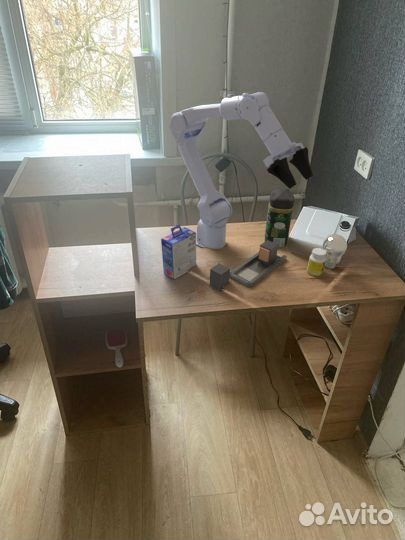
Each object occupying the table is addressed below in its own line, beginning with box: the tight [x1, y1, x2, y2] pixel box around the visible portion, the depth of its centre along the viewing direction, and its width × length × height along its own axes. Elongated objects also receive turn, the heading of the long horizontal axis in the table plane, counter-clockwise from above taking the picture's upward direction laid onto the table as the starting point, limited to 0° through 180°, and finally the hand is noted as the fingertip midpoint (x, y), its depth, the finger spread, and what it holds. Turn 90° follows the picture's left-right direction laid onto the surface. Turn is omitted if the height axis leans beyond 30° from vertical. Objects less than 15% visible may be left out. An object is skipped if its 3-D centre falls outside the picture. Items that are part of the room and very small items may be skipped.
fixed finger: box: [258, 240, 279, 266], centre depth 122 cm, size 4×5×6 cm
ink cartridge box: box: [160, 224, 197, 280], centre depth 116 cm, size 10×6×14 cm, turn 137°
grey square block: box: [209, 262, 231, 292], centre depth 113 cm, size 4×5×6 cm
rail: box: [229, 251, 287, 289], centre depth 120 cm, size 8×20×2 cm, turn 139°
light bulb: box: [322, 233, 348, 270], centre depth 119 cm, size 7×7×12 cm
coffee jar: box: [264, 187, 295, 248], centre depth 130 cm, size 10×8×19 cm
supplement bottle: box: [306, 247, 326, 277], centre depth 118 cm, size 5×5×8 cm
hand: (301, 182), depth 99 cm, fingers open, 7 cm apart
